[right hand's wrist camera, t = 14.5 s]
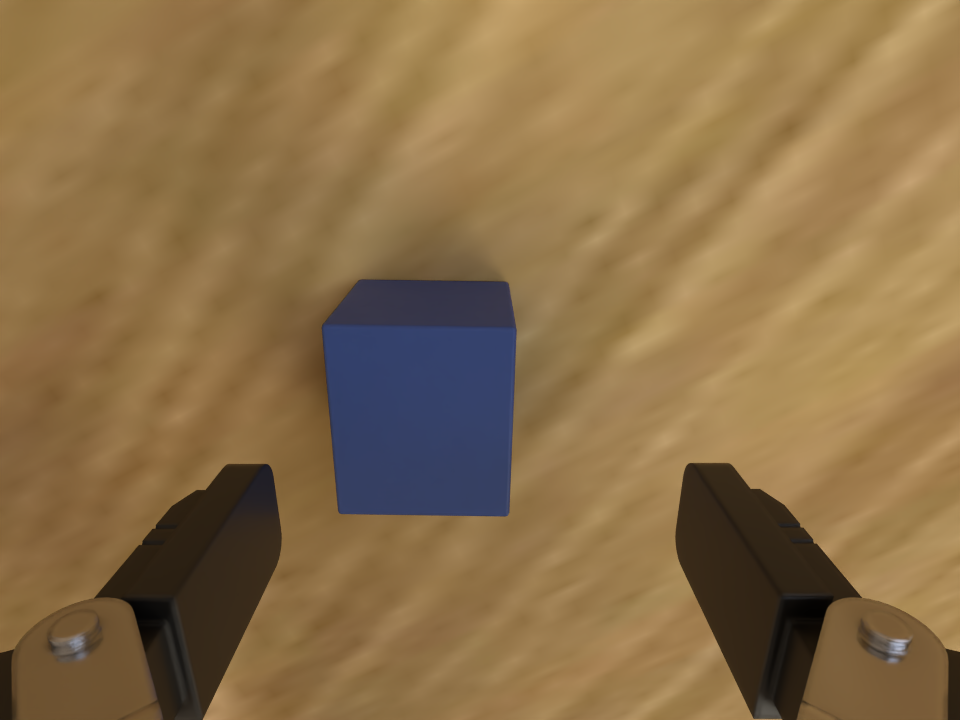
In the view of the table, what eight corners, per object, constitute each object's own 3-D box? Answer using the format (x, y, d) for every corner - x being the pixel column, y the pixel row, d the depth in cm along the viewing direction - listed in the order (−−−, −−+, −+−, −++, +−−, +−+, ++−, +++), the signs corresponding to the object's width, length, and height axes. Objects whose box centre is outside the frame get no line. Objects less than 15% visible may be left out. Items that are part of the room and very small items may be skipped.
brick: (368, 433, 18) (337, 515, 14) (358, 278, 16) (320, 324, 13) (503, 435, 18) (509, 517, 14) (508, 280, 16) (516, 327, 13)
